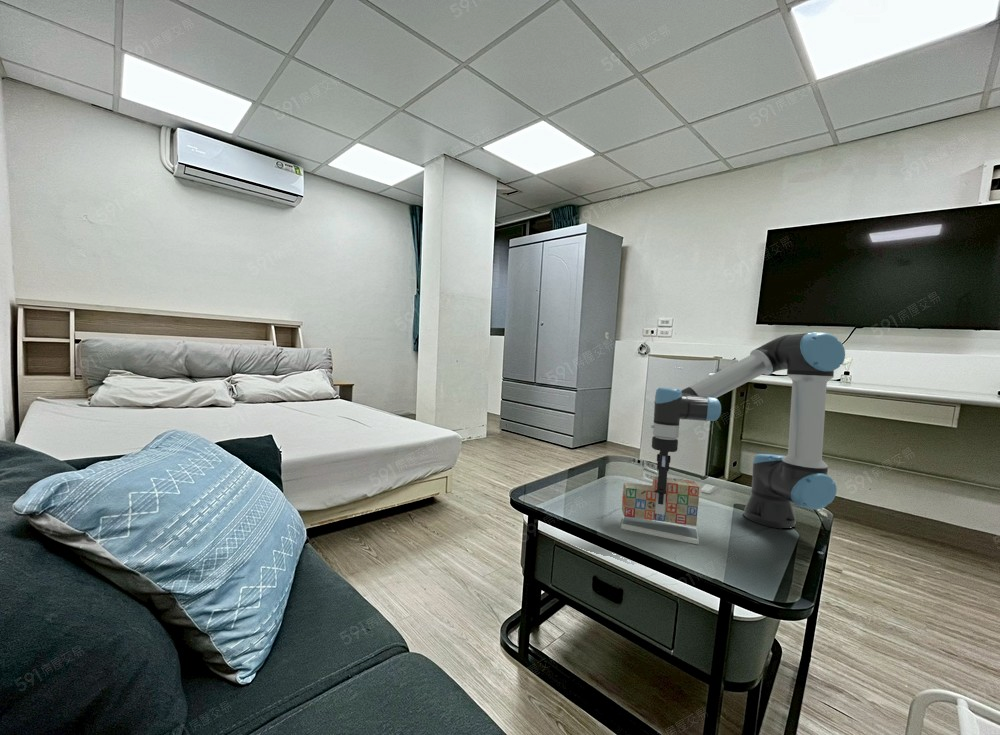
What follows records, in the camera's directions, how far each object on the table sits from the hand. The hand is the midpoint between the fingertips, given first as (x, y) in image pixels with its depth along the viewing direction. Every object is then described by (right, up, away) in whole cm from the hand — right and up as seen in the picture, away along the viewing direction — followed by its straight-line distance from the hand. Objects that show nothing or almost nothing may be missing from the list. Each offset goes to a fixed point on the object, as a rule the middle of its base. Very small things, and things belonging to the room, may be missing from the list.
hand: (659, 509), depth 127 cm
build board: (0, -7, 0) cm, 7 cm away
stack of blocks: (-1, -3, 0) cm, 3 cm away
